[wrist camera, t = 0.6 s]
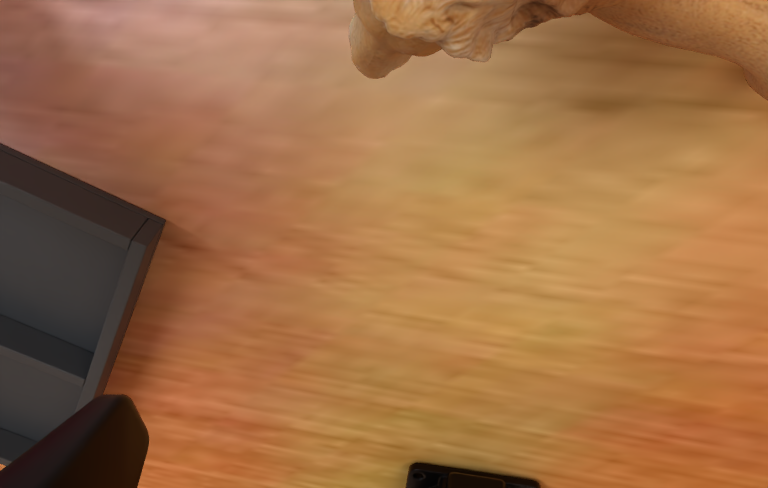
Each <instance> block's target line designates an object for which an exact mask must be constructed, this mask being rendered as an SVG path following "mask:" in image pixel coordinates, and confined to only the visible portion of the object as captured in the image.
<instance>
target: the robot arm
mask: <svg viewBox="0 0 768 488" xmlns="http://www.w3.org/2000/svg"><path fill="white" fill-rule="evenodd" d="M148 446H149V435H148V431H147V428H146V426H145V424H144V422H143V421H142V419H141V417H140V415H139V413H138V411H137V409H136V407H135V405H134V403H133V401H132V400H131V398H129V397H128V396H127V395H100V396H98V397H96V398H94V399H93V400H92V401H90V402H89V403H88V404H86V405H85V406H84V407H83V408H81V409H80V410H79V411H77V412H76V413H75V414H73V415H72V416H71V417H70V418H68V419H67V420H66V421H64V422H63V423H62V424H61V425H59V426H58V427H57V428H55V429H54V430H53V431H51V432H50V433H49V434H48V435H46V436H45V437H44V438H42V439H41V440H40V441H38V442H37V443H36V444H35V445H33V446H32V447H31V448H29V449H28V450H27V451H25V452H24V453H23V454H22V455H20V456H19V457H18V458H16V459H15V460H14V461H13V462H11V463H10V464H9V465H7V466H6V467H5V468H3V469H2V470H1V471H0V488H137V486H138V483H139V479H140V476H141V472H142V468H143V465H144V461H145V458H146V454H147V451H148ZM406 488H541V487H540V484H539V483H538V482H536V481H533V480H527V479H521V478H514V477H508V476H501V475H495V474H488V473H481V472H475V471H468V470H462V469H455V468H449V467H442V466H436V465H429V464H422V463H414V464H412V465H410V467H409V471H408V477H407V483H406Z"/></svg>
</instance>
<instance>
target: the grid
mask: <svg viewBox="0 0 768 488" xmlns="http://www.w3.org/2000/svg"><path fill="white" fill-rule="evenodd" d="M165 222H166V220H164V219H162V218H160V217H158V216H155V215H153V214H151V213H149V212H147V211H145V210H142V209H140V208H138V207H136V206H134V205H132V204H129V203H127V202H125V201H123V200H121V199H119V198H117V197H114V196H112V195H110V194H108V193H106V192H104V191H101V190H99V189H97V188H95V187H93V186H91V185H88V184H86V183H84V182H82V181H80V180H78V179H75V178H73V177H71V176H69V175H67V174H65V173H62V172H60V171H58V170H56V169H54V168H52V167H50V166H47V165H45V164H43V163H41V162H39V161H37V160H34V159H32V158H30V157H28V156H26V155H24V154H21V153H19V152H17V151H15V150H13V149H11V148H8V147H6V146H4V145H2V144H0V464H3V465H5V466H7V465H9V464H10V463H11V462H13V461H14V460H15V459H16V458H18V457H19V456H20V455H22V454H23V453H24V452H25V451H27V450H28V449H29V448H31V447H32V446H33V445H35V444H36V443H37V442H38V441H40V440H41V439H42V438H44V437H45V436H46V435H48V434H49V433H50V432H51V431H53V430H54V429H55V428H57V427H58V426H59V425H61V424H62V423H63V422H64V421H66V420H67V419H68V418H70V417H71V416H72V415H73V414H75V413H76V412H77V411H79V410H80V409H81V408H83V407H84V406H85V405H86V404H88V403H89V402H90V401H92V400H93V399H94V398H96V397H98V396H100V395H103V392H104V389H105V387H106V384H107V381H108V378H109V376H110V373H111V370H112V367H113V365H114V362H115V359H116V357H117V354H118V351H119V348H120V346H121V343H122V340H123V337H124V335H125V332H126V329H127V326H128V324H129V321H130V318H131V315H132V313H133V310H134V307H135V304H136V302H137V299H138V296H139V293H140V291H141V288H142V285H143V282H144V280H145V277H146V274H147V271H148V269H149V266H150V263H151V260H152V258H153V255H154V252H155V249H156V247H157V244H158V241H159V238H160V236H161V233H162V230H163V227H164V225H165Z"/></svg>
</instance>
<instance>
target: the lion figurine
mask: <svg viewBox="0 0 768 488" xmlns="http://www.w3.org/2000/svg"><path fill="white" fill-rule="evenodd" d="M353 1H354V8H355V12H356V13H355V15H354V17H353V18H352V20H351V23H350V25H349V40H350V45H351V55H352V61H353V63H354V64H355V66H356V67H357V69H358V70H359V71H360V72H361V73H363V74H364V75H365V76H367V77H369V78H373V79H378V78H382V77H385V76H386V75H387V74H388V73H389V72H390V71H392V70H394V69H396V68H398V67H401V66H402V65H403V64H405V63H406V62H407V61H408V60H409V59H410V57H411V55H415V56H427V55H431V54H434V53H435V52H437V51H439V50H441V49H443V50H444V51H445V52H446V53H447V54H448V55H450V56H452V57H454V58H468V59H470V60H472V61H478V62H487V61H488V60H489V58H490V57H491V53H492V46H493V44H496V43H499V42H503V41H509V40H511V39H513V37H514V36H515V35H517V34H518V33H519V32H520V31H522V30H523V29H525V28H532V27H535V26H537V25H539V24H540V23H543V22H546V21H548V20H551V19H554V18H561V17H571V16H572V15H581V14H584V13H587V12H588V13H590V14H592V15H594V16H596V17H597V18H599V19H601V20H603V21H605V22H607V23H609V24H611V25H612V26H614V27H616V28H618V29H620V30H622V31H624V32H627V33H629V34H631V35H634V36H638V37H641V38H644V39H647V40H651V41H654V42H657V43H660V44H664V45H668V46H672V47H677V48H681V49H686V50H691V51H695V52H700V53H704V54H708V55H713V56H717V57H720V58H723V59H727V60H729V61H731V62H734V63H736V64H738V65H740V66H741V67H743V71H744V75H745V78H746V81H747V83H748V84H749V85H750V87H751V88H753V89H754V90H755V91H756V92H757V93H758V94H760V95H761V96H762V97H764V98H765V99H766V100H768V0H353Z"/></svg>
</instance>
